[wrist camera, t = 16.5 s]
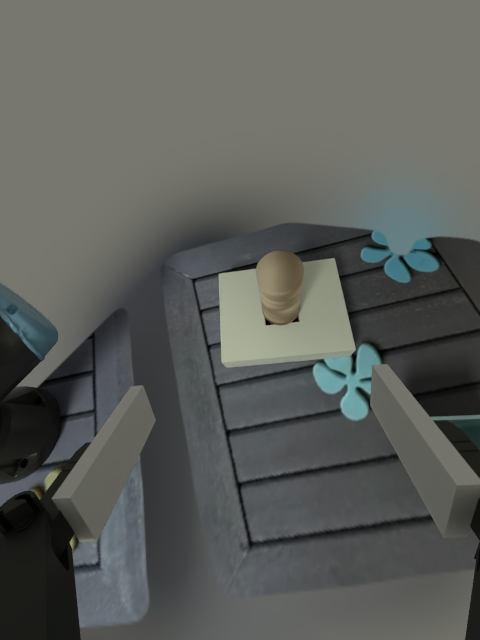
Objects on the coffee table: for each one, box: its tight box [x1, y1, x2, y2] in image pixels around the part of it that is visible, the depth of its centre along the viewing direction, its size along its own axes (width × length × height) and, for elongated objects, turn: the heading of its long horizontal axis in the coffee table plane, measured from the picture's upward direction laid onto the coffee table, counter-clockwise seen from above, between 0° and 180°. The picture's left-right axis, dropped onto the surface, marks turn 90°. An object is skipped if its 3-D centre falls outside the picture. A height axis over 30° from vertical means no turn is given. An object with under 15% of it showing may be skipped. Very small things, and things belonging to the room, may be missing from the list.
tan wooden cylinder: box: [256, 250, 304, 325], centre depth 39 cm, size 6×6×15 cm
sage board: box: [219, 258, 356, 368], centre depth 44 cm, size 20×16×4 cm
